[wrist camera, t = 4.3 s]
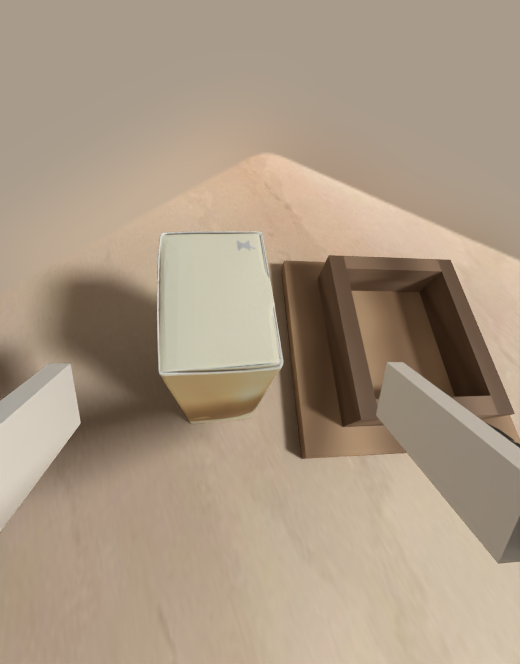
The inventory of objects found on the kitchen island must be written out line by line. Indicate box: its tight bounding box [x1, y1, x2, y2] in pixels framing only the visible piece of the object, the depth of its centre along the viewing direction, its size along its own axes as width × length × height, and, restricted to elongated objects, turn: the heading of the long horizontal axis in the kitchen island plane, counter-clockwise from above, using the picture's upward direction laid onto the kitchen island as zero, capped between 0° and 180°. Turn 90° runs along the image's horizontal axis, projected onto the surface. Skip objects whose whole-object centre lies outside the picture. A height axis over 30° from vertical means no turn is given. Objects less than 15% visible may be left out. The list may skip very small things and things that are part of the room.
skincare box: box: [157, 232, 283, 424], centre depth 16 cm, size 6×4×12 cm
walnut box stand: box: [282, 255, 520, 459], centre depth 23 cm, size 16×16×4 cm
